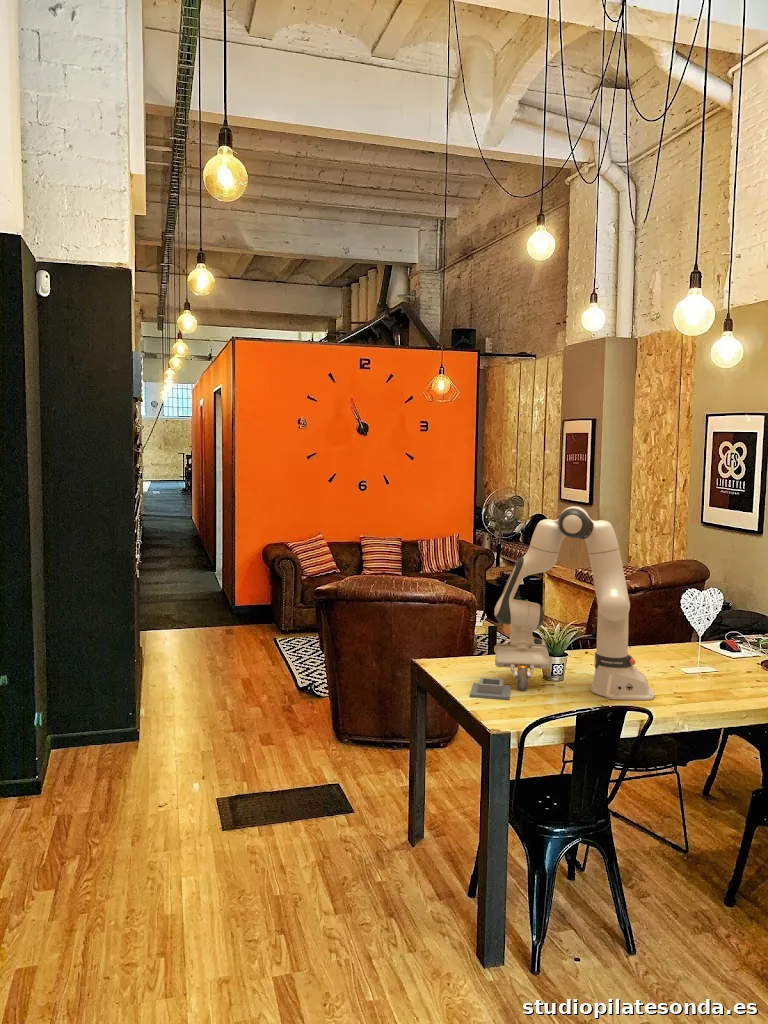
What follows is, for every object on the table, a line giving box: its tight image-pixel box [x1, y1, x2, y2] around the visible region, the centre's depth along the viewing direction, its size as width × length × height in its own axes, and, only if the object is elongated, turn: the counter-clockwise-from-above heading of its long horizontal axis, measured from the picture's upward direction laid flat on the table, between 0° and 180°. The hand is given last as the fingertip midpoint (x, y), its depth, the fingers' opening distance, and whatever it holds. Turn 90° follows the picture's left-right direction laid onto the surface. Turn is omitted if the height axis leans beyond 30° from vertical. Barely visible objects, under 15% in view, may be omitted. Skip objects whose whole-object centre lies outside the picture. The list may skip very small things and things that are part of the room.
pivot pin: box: [516, 664, 529, 692], centre depth 286 cm, size 4×4×9 cm
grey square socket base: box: [469, 677, 512, 701], centre depth 283 cm, size 14×14×4 cm
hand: (522, 677), depth 286 cm, fingers closed on pivot pin, 4 cm apart
